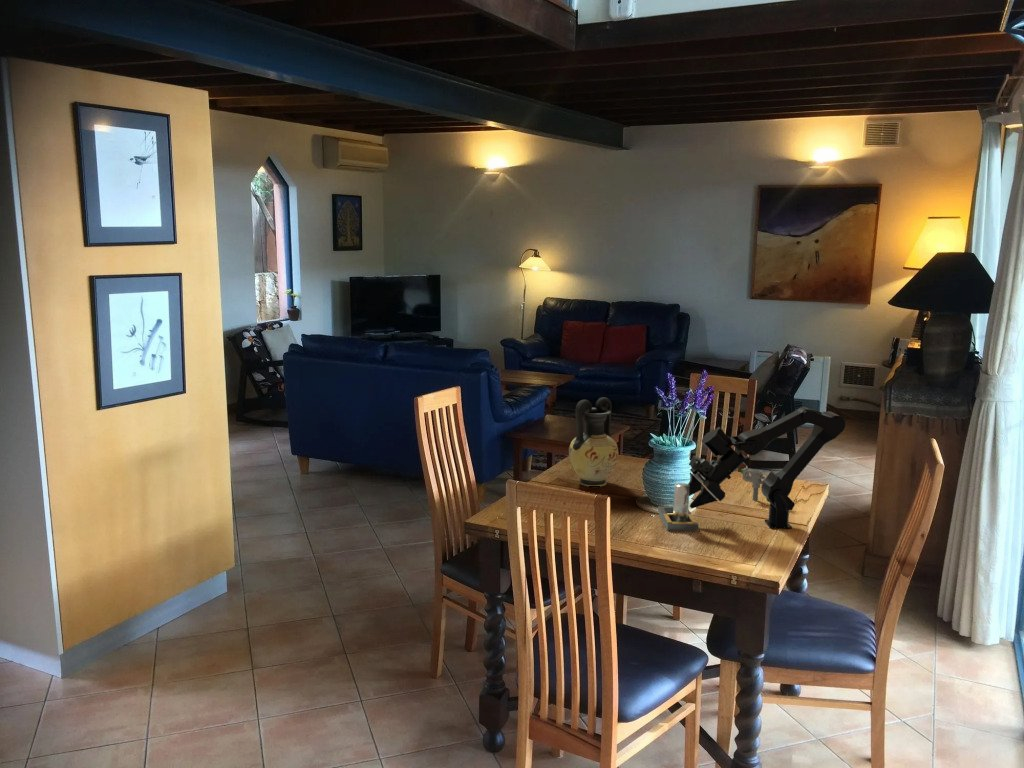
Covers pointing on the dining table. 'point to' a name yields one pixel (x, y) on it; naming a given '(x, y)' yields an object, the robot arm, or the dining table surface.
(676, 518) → the steel peg
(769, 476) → the robot arm
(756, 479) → the mechanical component
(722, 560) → the dining table surface
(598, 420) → the amphora
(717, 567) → the dining table surface
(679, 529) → the grey tray
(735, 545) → the dining table surface
